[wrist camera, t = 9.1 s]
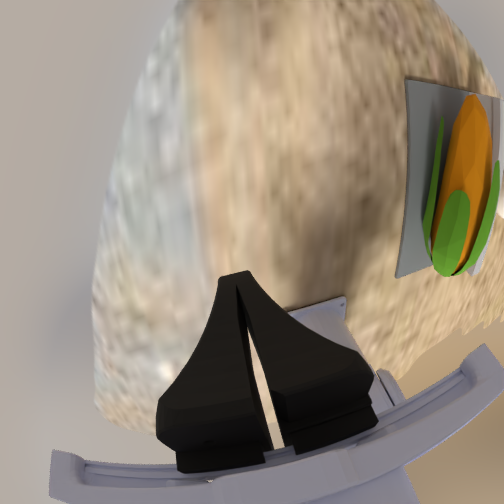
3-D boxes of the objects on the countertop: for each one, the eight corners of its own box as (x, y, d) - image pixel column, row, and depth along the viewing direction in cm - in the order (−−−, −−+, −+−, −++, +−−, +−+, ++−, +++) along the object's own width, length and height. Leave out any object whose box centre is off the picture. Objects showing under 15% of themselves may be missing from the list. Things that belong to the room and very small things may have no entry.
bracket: (456, 252, 30) (478, 272, 26) (394, 276, 29) (418, 303, 25) (473, 93, 18) (506, 101, 14) (404, 79, 17) (444, 82, 13)
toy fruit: (446, 304, 21) (489, 91, 10) (403, 264, 27) (421, 81, 17) (480, 283, 22) (517, 108, 12) (440, 250, 29) (461, 93, 18)
